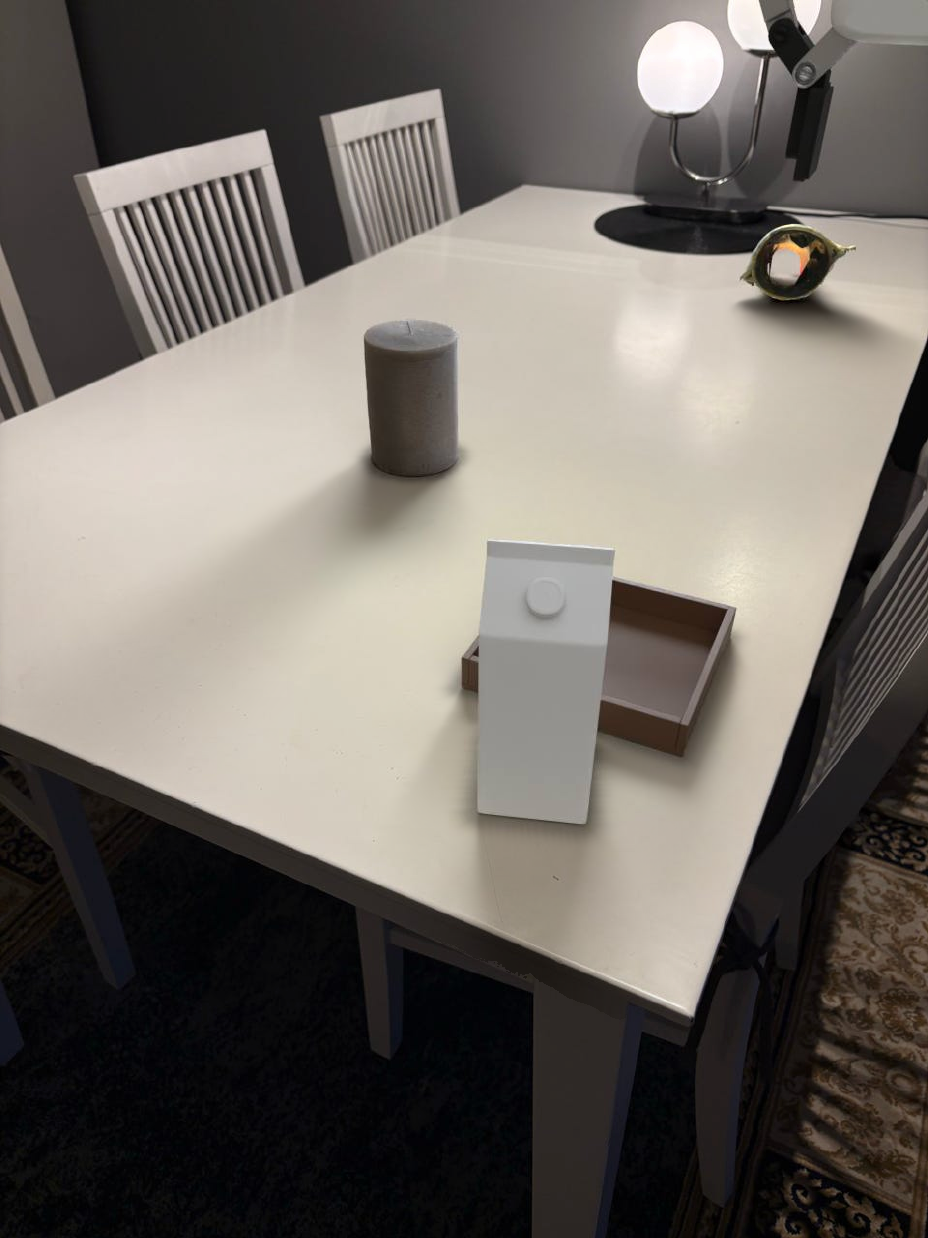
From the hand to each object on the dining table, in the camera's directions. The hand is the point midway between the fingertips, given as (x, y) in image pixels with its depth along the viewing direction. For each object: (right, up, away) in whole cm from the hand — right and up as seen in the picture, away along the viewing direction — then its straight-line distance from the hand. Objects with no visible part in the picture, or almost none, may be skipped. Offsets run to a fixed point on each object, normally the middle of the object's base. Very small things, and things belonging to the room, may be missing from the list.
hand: (906, 185), depth 44 cm
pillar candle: (-27, -3, +56) cm, 63 cm away
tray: (-11, -25, +28) cm, 39 cm away
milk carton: (-17, -32, +18) cm, 41 cm away
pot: (+30, +31, +102) cm, 110 cm away
